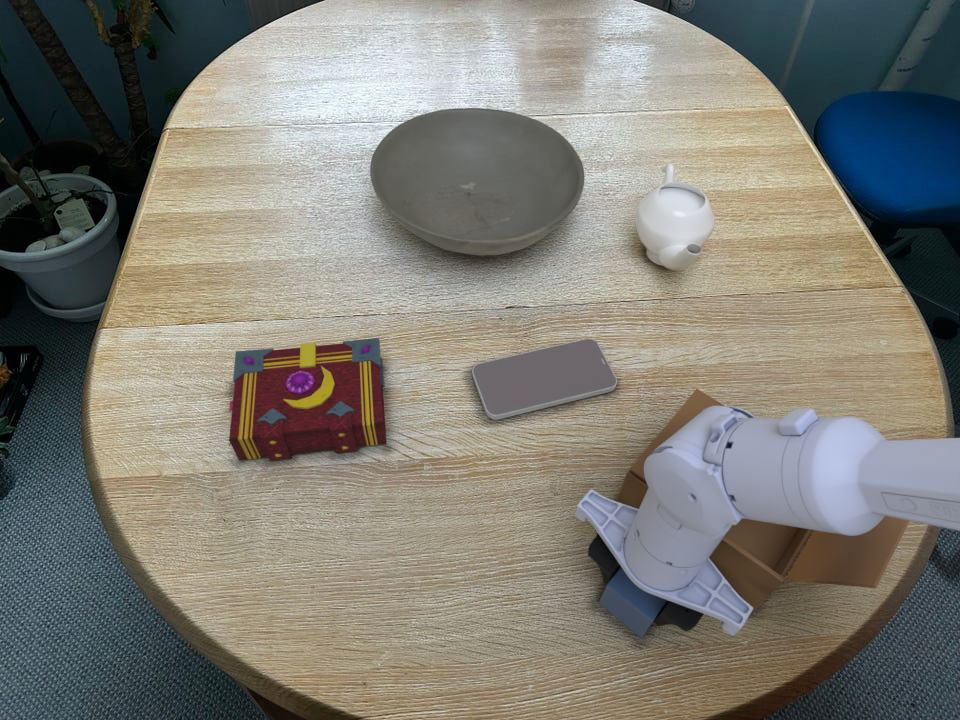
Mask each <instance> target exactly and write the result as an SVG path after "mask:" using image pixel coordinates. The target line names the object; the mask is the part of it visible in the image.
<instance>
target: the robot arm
mask: <svg viewBox="0 0 960 720" xmlns="http://www.w3.org/2000/svg"><path fill="white" fill-rule="evenodd" d="M644 476H645V479H646V482H647V485H648V487H649V488H648V490H647V492H646V495H645V497H644V499H643V501H642V503H641V506H640V508H639V509H637V508H634V507H631V506H628V505H625V504H622V503H619V502H616V500H613V499H611V498H608V497H605V496H604V495H602V494H600V493H599V492H597V491H596V490H594V489H592V488H590V489H589V490H588V492H587V493H586V494H585V495H584V496H583V497H582V499H580V501H579V502H578V503H577V504H576V508H575V512H574V517H576V518H577V519H578V520H579V521H581V522H583V523H586V522H589V523H590V524H591V526H592V527H593V529H594V530H595V531H596V532H597V534H596V536H595V537H594V538H593V540H592V541H591V542H590V543H589V545H588V549H587V557H588V558H590V559H591V560H592V561H594V562H595V563H596V565H597V567H598V569H599V571H600V574H601V579H602V582H603V584H604V585H605V586H607V584H608V583H609V581H610V580H611V579H612V577H613V576H614V575H615V574H616V572H617V571H618V570H619V568H620V567H622V569H623V570H624V571H625V573H626V574H627V576H628V577H629V578H630V580H631V581H632V582H633V583H634V584H635V585H636V586H638V587H639V588H640V589H642V590H644V591H645V592H647V593H650V594H652V595H655V596H658V597H660V598H663V599H666V600H668V601H667V602H666V604H665V605H664V606H663V608H662V609H661V611H660V612H659V614H658V615H657V616H656V618H655V619H654V621H653V622H652V624H654V625H656V626H657V627H661V626H662V627H663V626H669V625H670V626H675V627H678V628H679V629H681V630H682V631H684V632H688V631H689V632H690V631H691V630H693V629H694V628H695V627H696V626H697V625H698V624H699V622H700V620H701V619H702V617H703V616H704V615H706V616H708V617H712V618H714V619H716V620H719V621H720V622H721V625H720V627H721V628H722V629H723V630H724V632H726V633H728V634H729V635H730V636H732V637H734V636H735V635H736V634H737V633H738V632H739V631H741V629H742V628H743V627H744V625H745V624H746V622H747V621H748V618H749V617H750V615H751V613H753V612H752V610H753V607H752V606H751V605H750V604H748V603H747V602H746V601H745V600H743V599H742V598H741V597H740V596H739V595H738V594H737V592H736V591H735V590H734V589H733V588H732V587H731V585H730V584H729V583H728V581H727V580H726V579H725V578H724V576H723V575H722V574H721V572H720V571H719V570H718V569H717V567H716V566H715V565H714V564H713V562H712V561H711V560H710V558H709V557H710V556H711V554H712V553H713V551H714V550H715V548H716V547H717V546H718V544H719V543H720V542H721V540H722V539H723V537H724V536H725V535H726V533H727V532H728V531H729V529H730V528H731V526H732V525H736V524H737V523H738V522H740V521H741V520H742V519H741V518H744V519H750V520H756V521H762V522H768V523H774V524H780V525H786V526H793V527H799V528H805V529H811V530H817V531H823V532H829V533H837V534H843V535H848V536H856V535H861V534H864V533H866V532H868V531H870V530H871V529H873V528H874V527H875V526H877V525H878V524H879V523H880V521H881V520H882V519H883V518H884V517H885V516H888V517H893V518H898V519H903V520H908V521H910V522H913V523H918V524H922V525H928V526H932V527H937V528H943V529H948V530H952V531H957V532H960V437H949V438H948V437H947V438H921V439H920V438H919V439H896V440H895V439H893V440H888V439H886V437H884V436H883V435H882V434H881V433H880V432H879V431H878V429H876V428H875V427H874V426H872V425H871V424H870V423H868V422H867V421H865V420H863V419H860V418H858V417H854V416H818V415H817V413H816V411H815V409H814V408H794V409H792V410H791V411H789V412H788V413H787V414H786V415H785V416H783V417H756V416H755V415H754V414H753V413H751V412H749V411H748V410H746V409H743V408H741V407H739V406H735V405H734V406H733V405H725V406H711V407H708V408H706V409H703V411H702V412H700V413H699V414H698V415H697V416H696V417H694V418H693V419H692V420H691V421H689V422H688V423H687V424H686V425H684V426H683V427H682V428H681V429H680V430H678V431H677V432H676V433H675V434H673V435H672V436H671V437H670V438H668V439H667V440H666V441H665V442H663V443H662V444H661V445H660V446H658V447H657V448H656V449H655V450H654V451H653V453H652V454H651V455H650V456H648V457H647V459H646V460H645V463H644Z"/></svg>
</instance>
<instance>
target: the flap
mask: <svg viewBox="0 0 960 720" xmlns="http://www.w3.org/2000/svg"><path fill="white" fill-rule="evenodd" d="M910 522H911V521H908V520H903V519H898V518H893V517H888V516H885V517H884V518H883V519H882V520H881V521H880V523H879V524H878V525H877V526H875V527H874V528H873V529H871V530H870V531H868V532H866V533H864V534H861V535H856V536H848V535H843V534H837V533H829V532H823V531H817V530H814V531H813V533H812V535H811V536H810V538H809V540H808V541H807V543H806V545H805V546H804V548H803V550H802V551H801V553H800V555H799V556H798V558H797V560H796V561H795V563H794V565H793V566H792V568H791V570H790V571H789V573H788V575H787V576H786V578H785V579H786V580H787V581H789V582H800V583H811V584H822V585H823V584H825V585H835V586H846V587H857V588H869V589H876V588H878V585H879V583H880V581H881V579H882V578H883V576H884V573H885V572H886V570H887V567H888V565H889V564H890V562H891V559H892V558H893V555H894V554H895V551H896V550H897V547H898V546H899V544H900V542H901V540H902V538H903V536H904V534H905V532H906V529H907V528H908V526H909V523H910Z"/></svg>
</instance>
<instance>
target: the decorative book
mask: <svg viewBox="0 0 960 720" xmlns="http://www.w3.org/2000/svg"><path fill="white" fill-rule="evenodd" d="M299 345H300V347H291V348H283V349H282V348H281V349H280V348H279V349H274V348H272V347H271V348H260V349H248V350H238V351H237V350H236V351H235V358H234V365H233V378H232V379H233V380H232V381H233V383H234V386H233V397H232V400H230V401H229V406H228V407H229V408H228V413H230V412H231V418H230V426H229V438H228V441H229V444H228V445H229V447H232V449H233V451H234V453H235V455H236V457H237V459H238V461H248V460H257V459H265V458H269V460H270V462H274V461H283V460H292V456H293V455H299V454H301V455H302V454H309V453H310V454H311V453H318V452H327V451H335V452H336V454H344V453H352V452H353V453H354V452H358V448H361V447H372V446H380V445H381V446H382V445H387V431H386V417H385V404H384V403H385V401H384V389H385V381H384V380H385V379H384V364H383V363H384V362H383V357H381V342H380V337H373V338H372V337H371V338H363V339H352V340H343V341H342V343H331V344H324V345H323V344H322V345H317V343H316V342H315V341H314V342H304V343H302V342H301V343H300V344H299Z"/></svg>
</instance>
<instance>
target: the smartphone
mask: <svg viewBox="0 0 960 720" xmlns="http://www.w3.org/2000/svg"><path fill="white" fill-rule="evenodd" d="M471 376H472V379H473V380H472V381H473V382H474V385H475V388H476V391H477V393H478V397H479V398H480V401H481V405H482V407H483V410H484V412H485V415H486V416H487V417H488V418H489V419H491V420H493V421H494V420H496V421H497V420H498V421H499V420H503V419H506V418H511V417H514V416H519V415H522V414H526V413H531V412H534V411H539V410H543V409H547V408H551V407H556V406H558V405H562V404H567V403H571V402H574V401H579V400H583V399H587V398H591V397H596V396H598V395H603V394H604V395H605V394H607V393H611V392H613V391H614V390H616V387H617V384H618V379H617V376H616V374H615V372H614V370H613V368H612V367H611V365H610V363H609V361H608V359H607V357H606V355H605V354H604V351H603V349H602V348H601V345H600V344H599V343H598V341H597V340H595V339H593V338H589V337H588V338H587V337H586V338H582V339H578V340H574V341H573V340H572V341H569V342H564V343H560V344H556V345H552V346H548V347H543V348H539V349H534V350H530V351H526V352H521V353H517V354H513V355H507V356H503V357H499V358H495V359H492V360H491V359H490V360H486V361H481V362H477V363H476V364H474V366H473V367H472V370H471Z"/></svg>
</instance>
